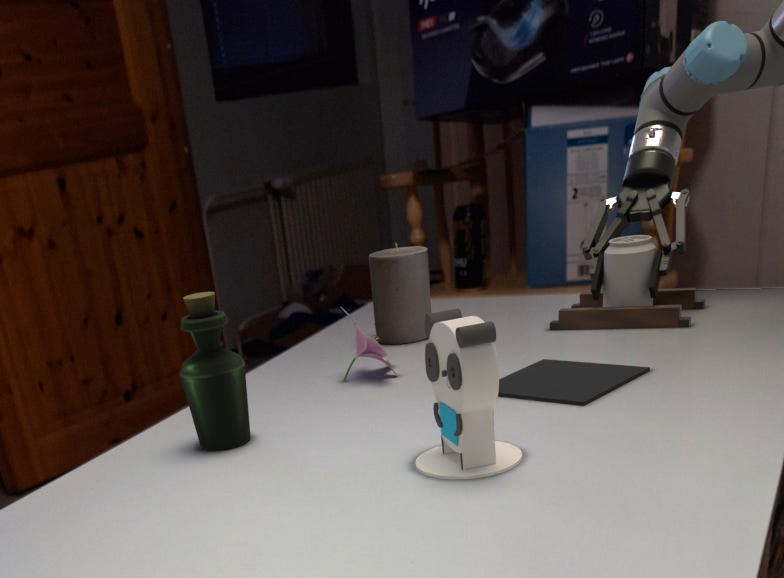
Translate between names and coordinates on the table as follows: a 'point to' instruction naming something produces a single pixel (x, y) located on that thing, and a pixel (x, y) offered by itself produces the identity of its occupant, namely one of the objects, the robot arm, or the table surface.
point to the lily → (367, 347)
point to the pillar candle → (400, 293)
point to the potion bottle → (214, 378)
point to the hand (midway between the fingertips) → (623, 294)
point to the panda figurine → (464, 399)
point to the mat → (567, 381)
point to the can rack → (630, 312)
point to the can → (628, 271)
